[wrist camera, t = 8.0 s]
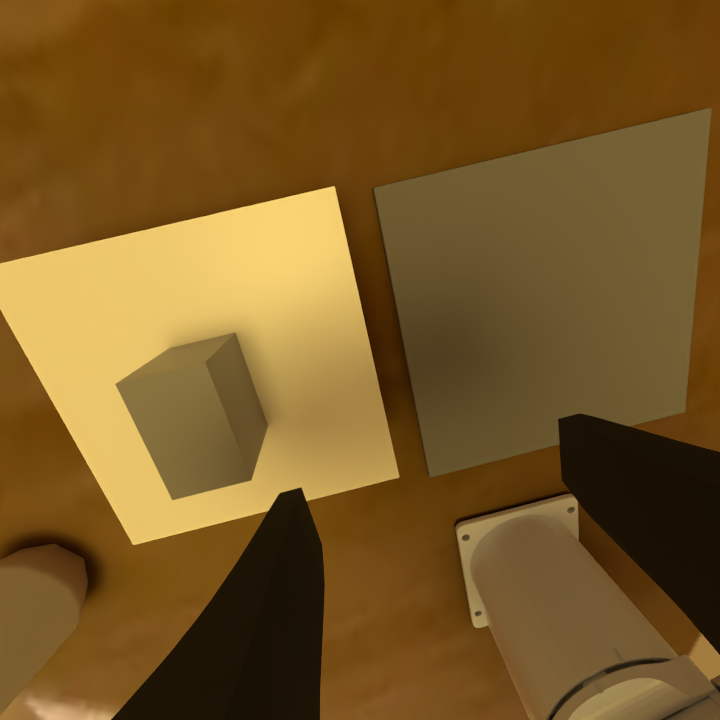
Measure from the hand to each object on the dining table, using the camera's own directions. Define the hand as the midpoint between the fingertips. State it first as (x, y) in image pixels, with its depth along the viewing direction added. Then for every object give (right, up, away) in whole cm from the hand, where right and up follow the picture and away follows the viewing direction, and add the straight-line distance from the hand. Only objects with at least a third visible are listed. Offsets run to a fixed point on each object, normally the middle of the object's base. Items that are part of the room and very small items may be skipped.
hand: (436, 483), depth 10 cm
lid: (-8, +2, +5) cm, 9 cm away
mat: (+8, +6, +9) cm, 14 cm away
